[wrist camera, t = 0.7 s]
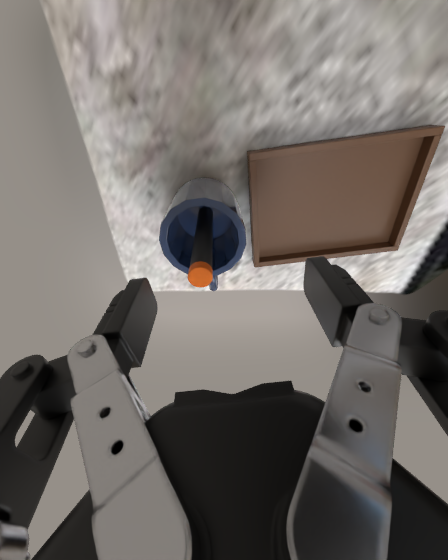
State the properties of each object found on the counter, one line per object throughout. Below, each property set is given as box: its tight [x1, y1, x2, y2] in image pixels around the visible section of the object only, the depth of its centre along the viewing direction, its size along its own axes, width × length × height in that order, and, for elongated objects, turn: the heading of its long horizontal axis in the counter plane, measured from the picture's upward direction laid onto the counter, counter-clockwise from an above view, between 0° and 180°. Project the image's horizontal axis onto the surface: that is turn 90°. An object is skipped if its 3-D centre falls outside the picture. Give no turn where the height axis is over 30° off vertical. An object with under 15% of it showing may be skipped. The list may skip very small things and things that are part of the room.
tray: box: [247, 125, 445, 267], centre depth 31 cm, size 16×22×2 cm
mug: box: [159, 177, 246, 291], centre depth 29 cm, size 13×9×9 cm
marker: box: [188, 207, 213, 287], centre depth 25 cm, size 2×2×15 cm
